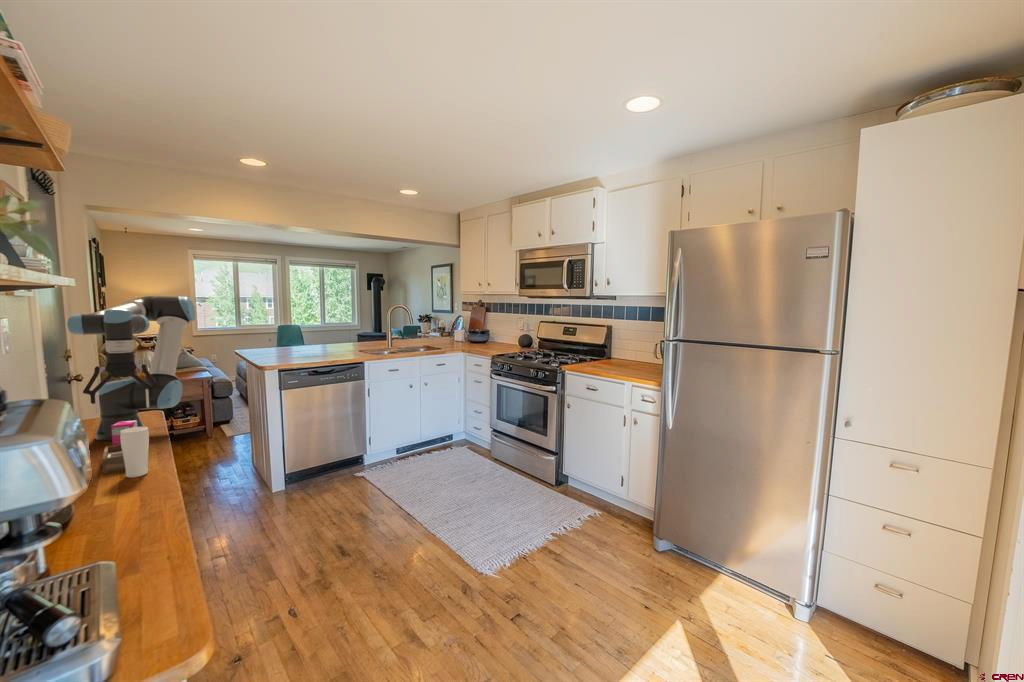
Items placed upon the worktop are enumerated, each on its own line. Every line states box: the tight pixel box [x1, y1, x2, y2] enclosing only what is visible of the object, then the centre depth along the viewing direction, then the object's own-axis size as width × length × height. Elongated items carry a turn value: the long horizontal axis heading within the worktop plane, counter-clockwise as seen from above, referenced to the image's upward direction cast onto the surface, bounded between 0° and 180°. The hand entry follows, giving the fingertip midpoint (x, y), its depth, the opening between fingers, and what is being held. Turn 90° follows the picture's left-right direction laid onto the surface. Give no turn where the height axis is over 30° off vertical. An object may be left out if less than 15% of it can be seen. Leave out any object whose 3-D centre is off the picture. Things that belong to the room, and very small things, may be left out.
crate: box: [101, 445, 126, 475], centre depth 147 cm, size 16×11×5 cm
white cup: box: [120, 426, 150, 479], centre depth 137 cm, size 7×7×15 cm
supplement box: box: [111, 420, 137, 446], centre depth 158 cm, size 6×6×12 cm
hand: (123, 409), depth 157 cm, fingers open, 13 cm apart
